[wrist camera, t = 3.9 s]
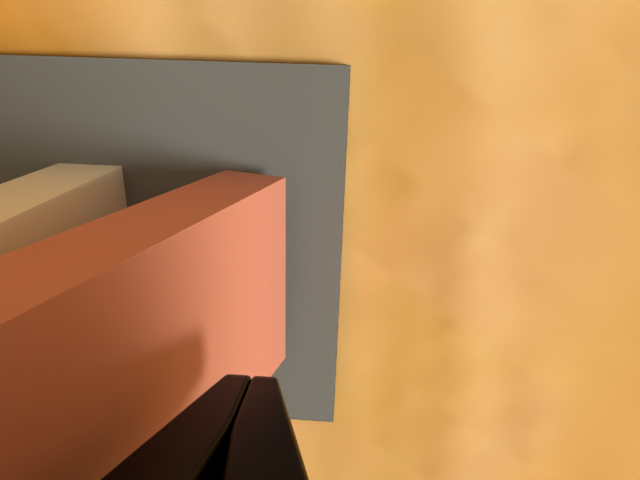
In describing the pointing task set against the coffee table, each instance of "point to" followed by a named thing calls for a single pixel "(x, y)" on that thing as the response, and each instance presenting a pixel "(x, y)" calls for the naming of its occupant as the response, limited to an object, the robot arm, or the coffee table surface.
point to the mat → (206, 162)
